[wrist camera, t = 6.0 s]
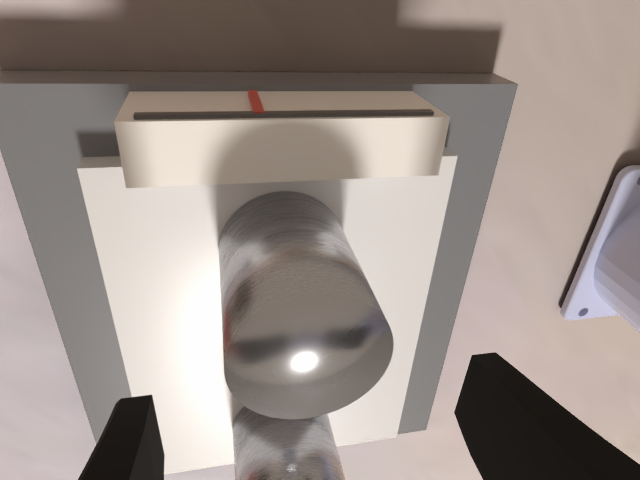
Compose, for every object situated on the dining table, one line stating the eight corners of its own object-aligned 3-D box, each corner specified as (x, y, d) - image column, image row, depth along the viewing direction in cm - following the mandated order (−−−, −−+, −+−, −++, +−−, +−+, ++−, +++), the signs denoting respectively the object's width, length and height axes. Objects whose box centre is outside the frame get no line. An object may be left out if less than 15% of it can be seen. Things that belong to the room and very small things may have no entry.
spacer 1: (352, 194, 14) (412, 293, 10) (331, 296, 16) (373, 413, 12) (221, 187, 13) (229, 294, 9) (215, 296, 15) (219, 425, 11)
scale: (493, 73, 16) (572, 107, 12) (414, 405, 25) (448, 478, 21) (0, 70, 13) (-74, 114, 9) (113, 449, 22) (96, 543, 18)
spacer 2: (329, 384, 19) (364, 506, 15) (324, 444, 21) (353, 566, 17) (230, 396, 18) (237, 530, 14) (234, 458, 20) (242, 590, 16)
